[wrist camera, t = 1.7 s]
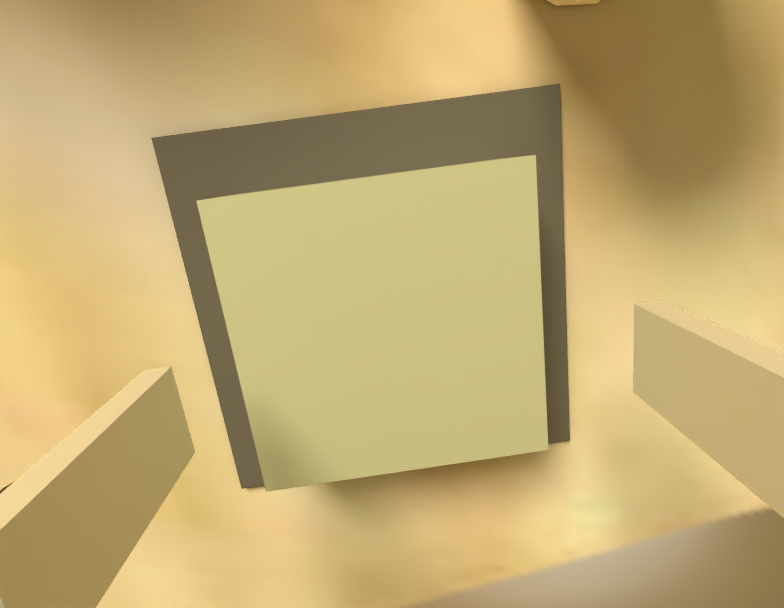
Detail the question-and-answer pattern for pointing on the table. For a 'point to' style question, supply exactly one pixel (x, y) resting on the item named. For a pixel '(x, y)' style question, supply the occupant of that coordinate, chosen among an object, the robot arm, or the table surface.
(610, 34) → the table surface
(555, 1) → the white cup
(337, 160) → the mat
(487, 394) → the lid
